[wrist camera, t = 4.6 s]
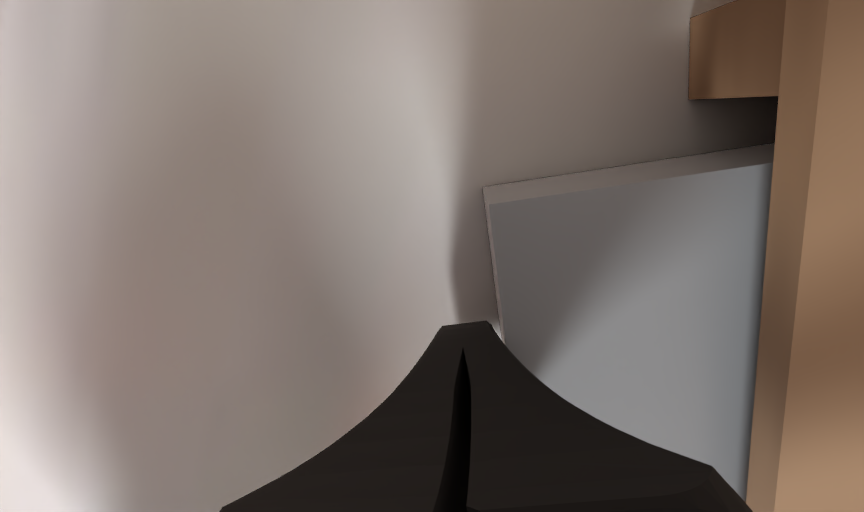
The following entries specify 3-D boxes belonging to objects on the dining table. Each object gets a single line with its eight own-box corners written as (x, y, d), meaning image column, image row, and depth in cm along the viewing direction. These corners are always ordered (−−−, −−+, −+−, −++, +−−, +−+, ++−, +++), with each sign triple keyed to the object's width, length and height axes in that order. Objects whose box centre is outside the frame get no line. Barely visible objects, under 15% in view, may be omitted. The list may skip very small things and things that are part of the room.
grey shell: (889, 424, 12) (972, 484, 10) (516, 457, 13) (526, 517, 11) (948, 116, 9) (1074, 118, 7) (482, 186, 10) (488, 204, 8)
